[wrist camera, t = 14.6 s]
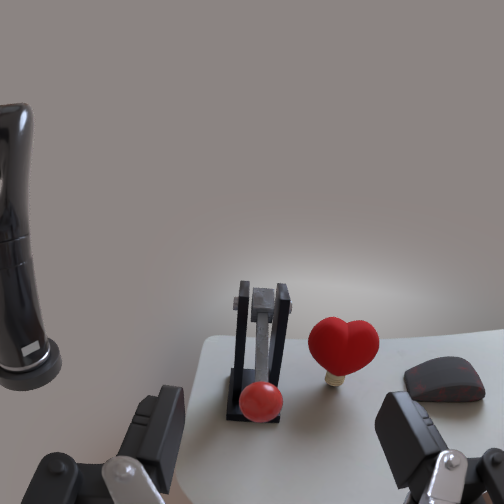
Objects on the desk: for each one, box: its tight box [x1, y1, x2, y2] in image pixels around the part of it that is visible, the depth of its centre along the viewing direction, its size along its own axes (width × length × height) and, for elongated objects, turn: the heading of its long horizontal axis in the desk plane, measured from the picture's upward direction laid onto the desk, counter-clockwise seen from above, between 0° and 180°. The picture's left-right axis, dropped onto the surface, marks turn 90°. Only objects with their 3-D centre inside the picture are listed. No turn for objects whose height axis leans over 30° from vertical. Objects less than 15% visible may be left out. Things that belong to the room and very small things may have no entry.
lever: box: [239, 288, 283, 423], centre depth 27 cm, size 14×4×4 cm, turn 0°
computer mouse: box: [404, 357, 485, 402], centre depth 34 cm, size 8×14×4 cm, turn 74°
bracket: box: [226, 281, 292, 423], centre depth 33 cm, size 9×6×15 cm, turn 0°
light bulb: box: [308, 317, 379, 387], centre depth 36 cm, size 9×7×10 cm
